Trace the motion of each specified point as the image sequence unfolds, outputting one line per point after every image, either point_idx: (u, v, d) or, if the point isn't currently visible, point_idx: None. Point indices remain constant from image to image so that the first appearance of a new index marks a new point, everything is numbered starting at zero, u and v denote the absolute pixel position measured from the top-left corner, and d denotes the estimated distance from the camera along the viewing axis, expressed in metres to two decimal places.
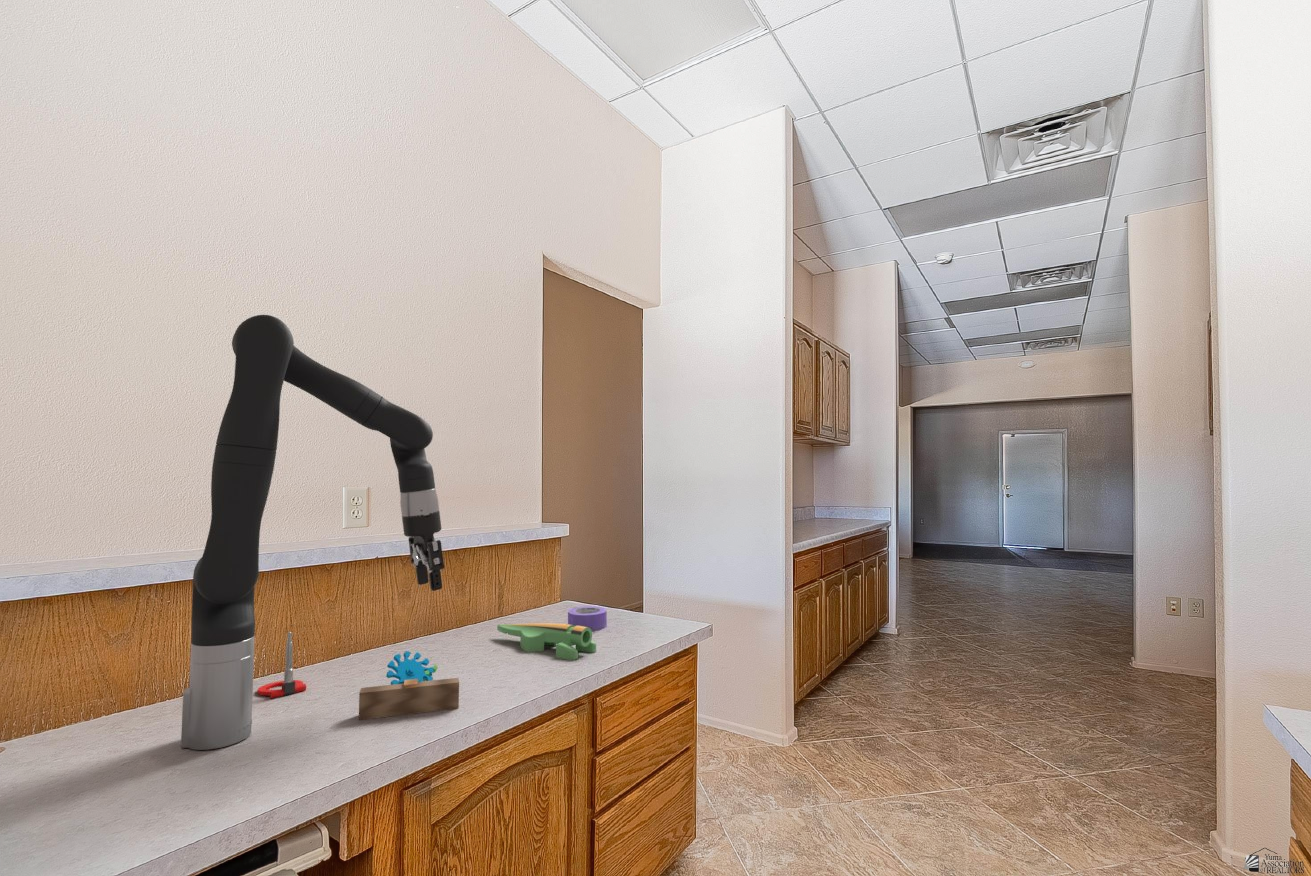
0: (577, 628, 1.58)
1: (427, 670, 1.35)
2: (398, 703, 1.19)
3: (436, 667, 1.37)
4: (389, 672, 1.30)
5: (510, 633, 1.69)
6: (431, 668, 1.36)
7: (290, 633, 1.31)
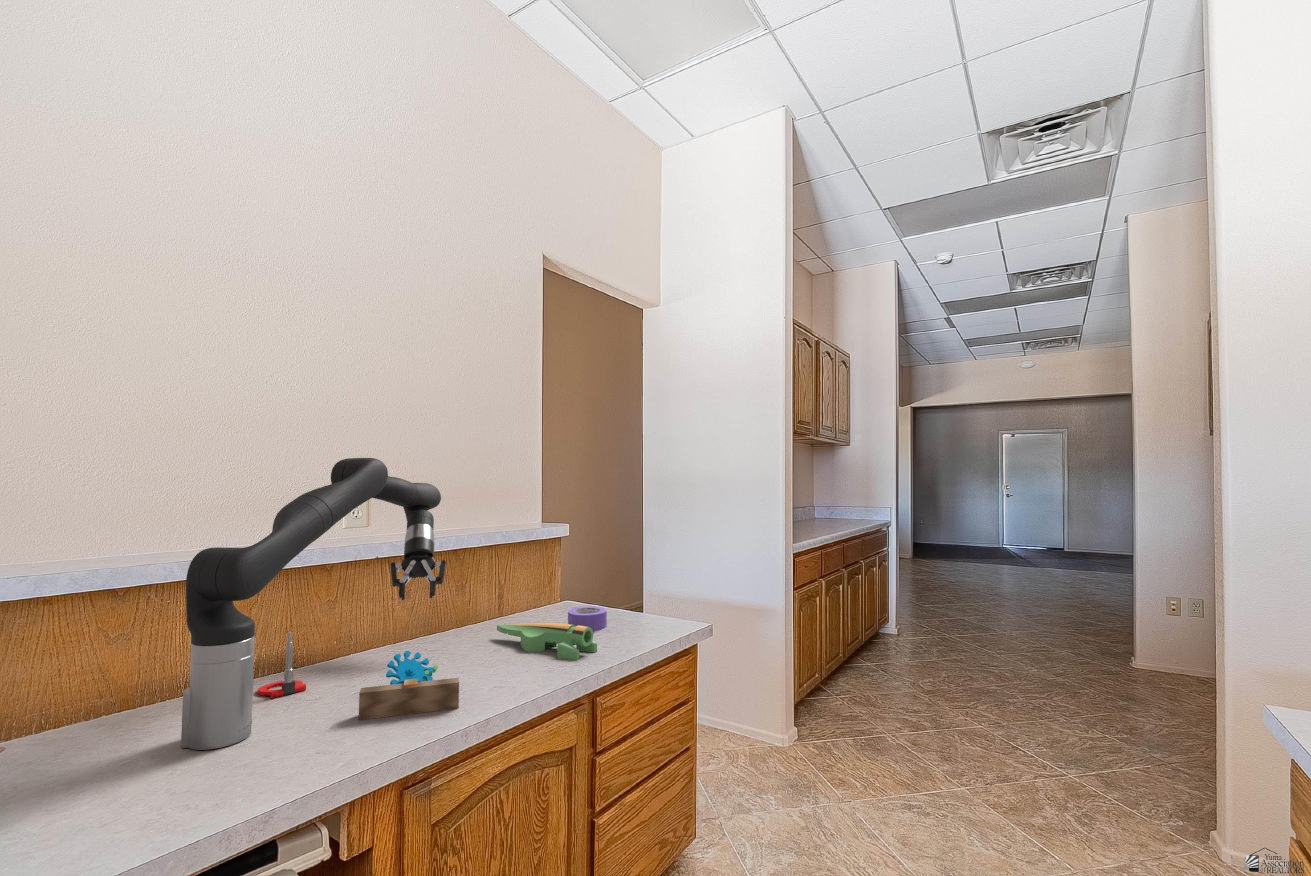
0: (578, 628, 1.58)
1: (427, 670, 1.35)
2: (398, 703, 1.19)
3: (436, 667, 1.37)
4: (389, 672, 1.30)
5: (510, 633, 1.69)
6: (431, 668, 1.36)
7: (290, 633, 1.31)
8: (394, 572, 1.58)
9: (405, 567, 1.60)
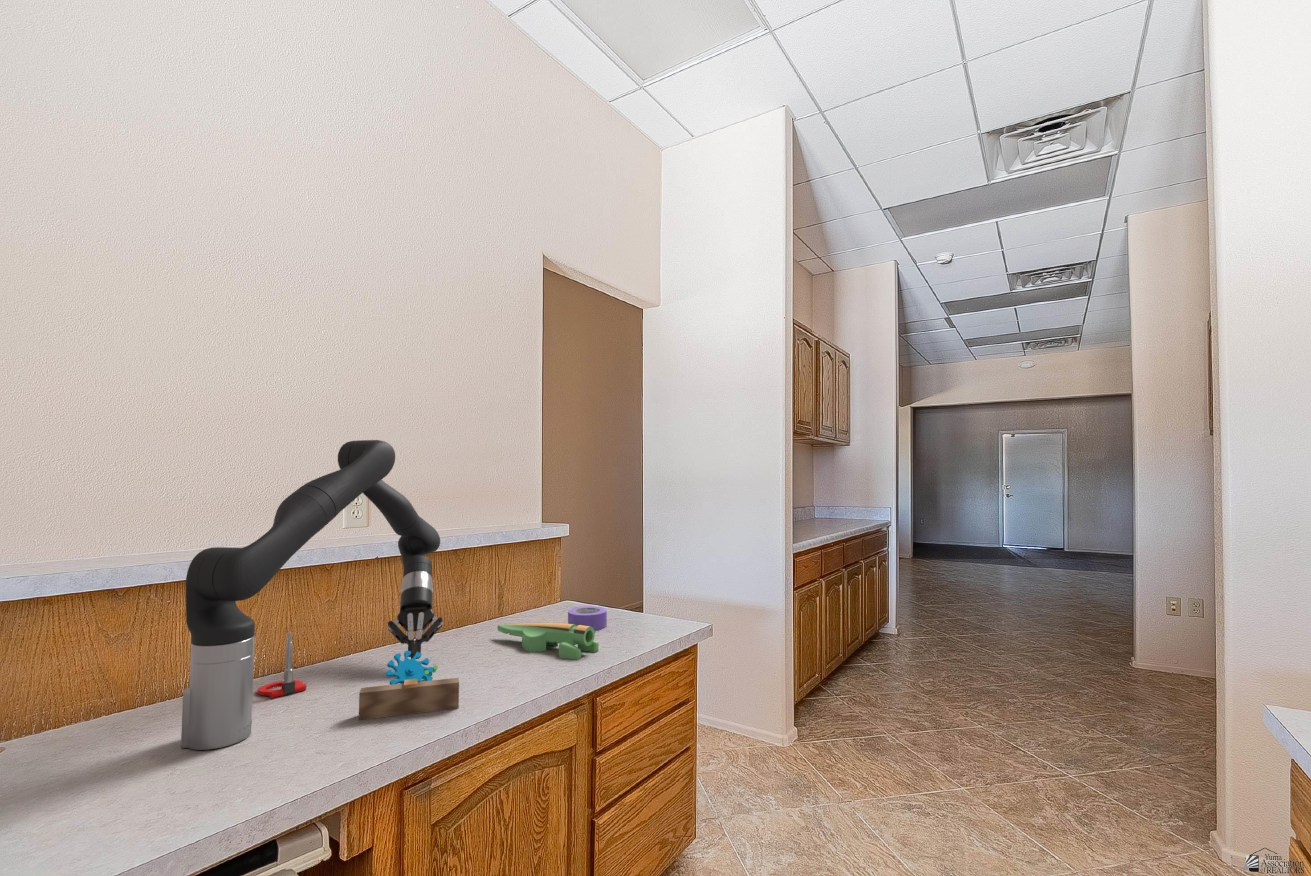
0: (580, 627, 1.59)
1: (427, 670, 1.35)
2: (398, 703, 1.19)
3: (436, 667, 1.37)
4: (388, 671, 1.30)
5: (511, 633, 1.69)
6: (431, 668, 1.36)
7: (290, 633, 1.31)
8: (398, 629, 1.46)
9: (405, 620, 1.49)
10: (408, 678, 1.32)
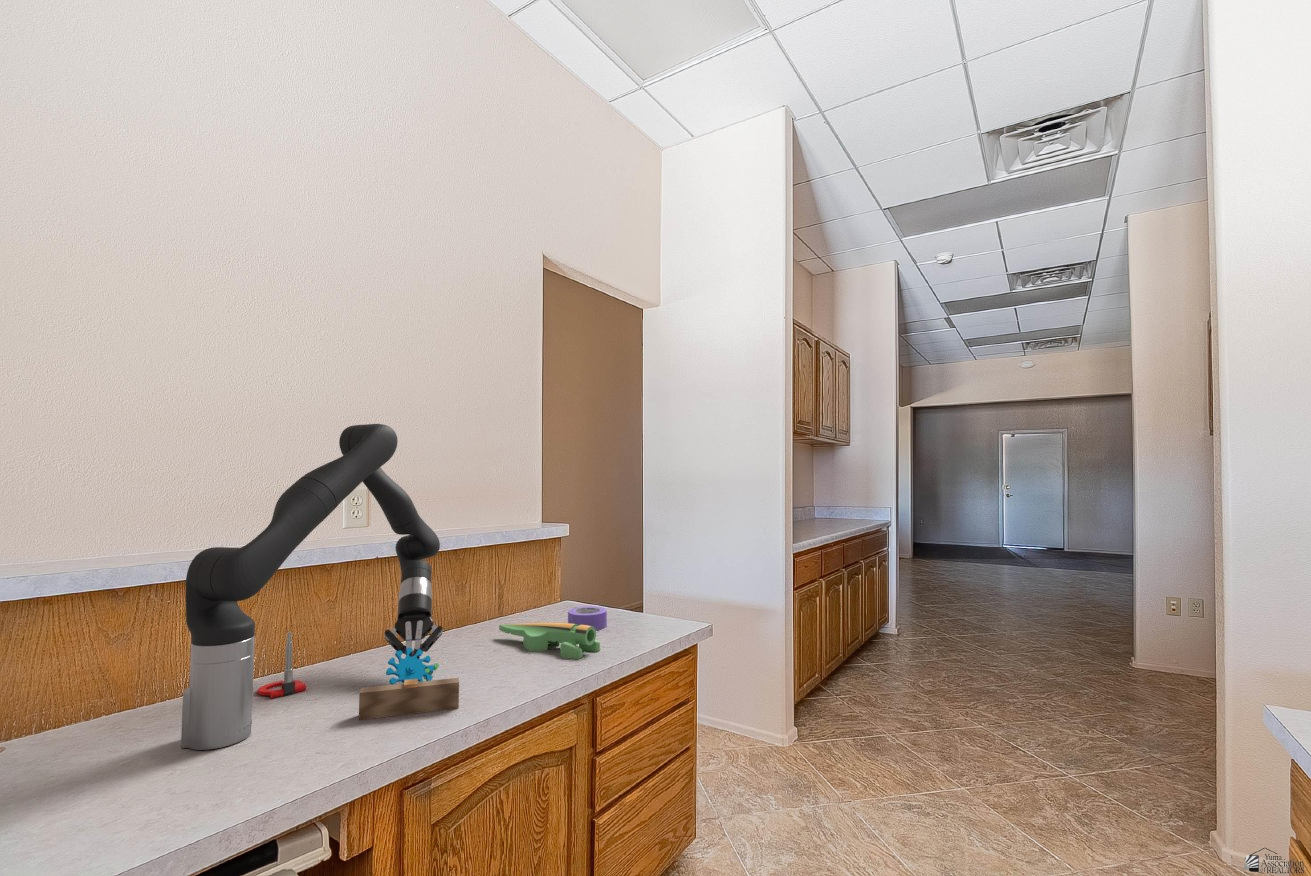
0: (581, 627, 1.59)
1: (427, 668, 1.35)
2: (398, 703, 1.19)
3: (437, 665, 1.37)
4: (388, 669, 1.30)
5: (513, 633, 1.69)
6: (432, 666, 1.36)
7: (290, 633, 1.31)
8: (395, 639, 1.39)
9: (403, 629, 1.41)
10: (408, 677, 1.32)
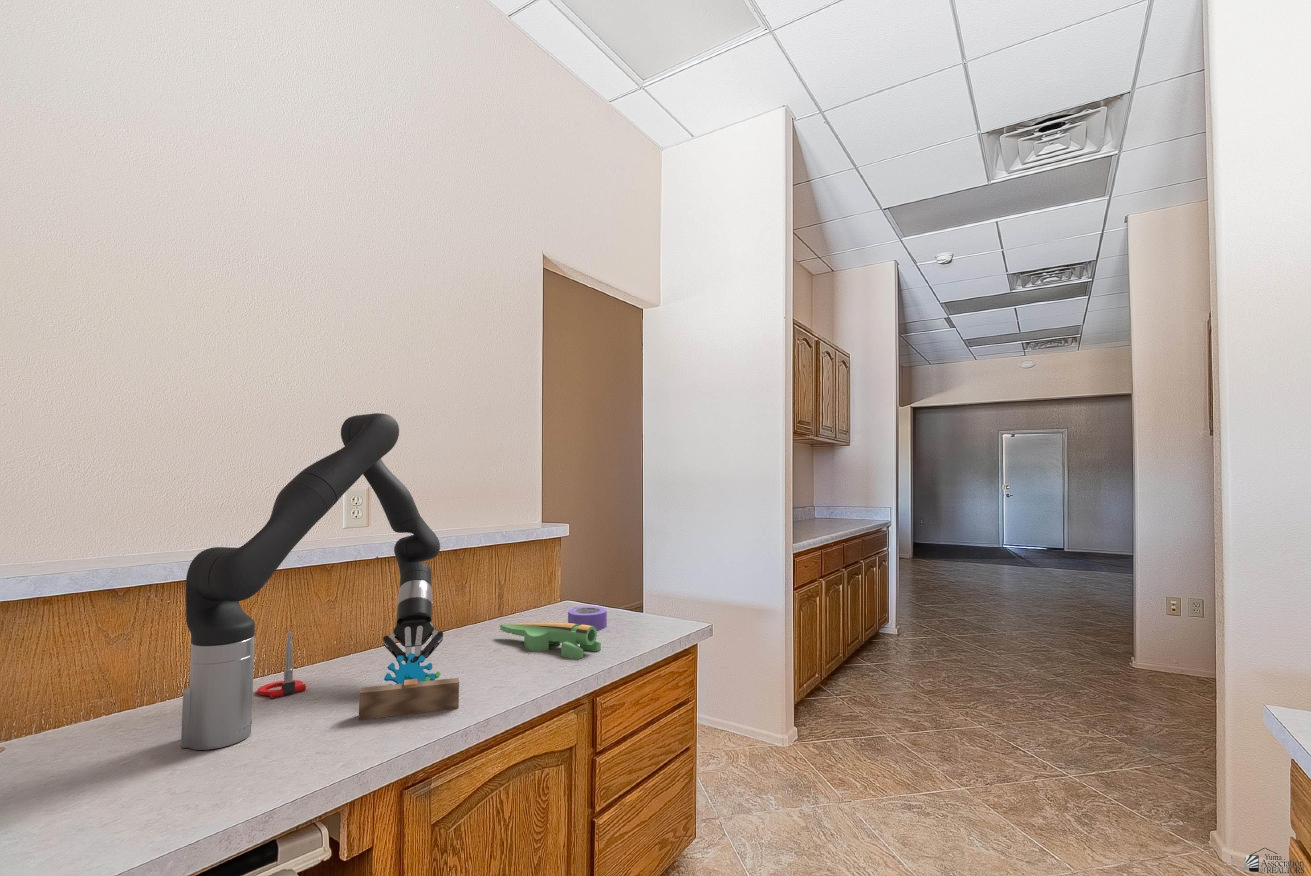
0: (582, 627, 1.59)
1: (428, 676, 1.30)
2: (398, 703, 1.19)
3: (439, 674, 1.31)
4: (387, 675, 1.26)
5: (514, 633, 1.70)
6: (433, 674, 1.30)
7: (290, 633, 1.31)
8: (394, 645, 1.33)
9: (402, 634, 1.35)
10: None
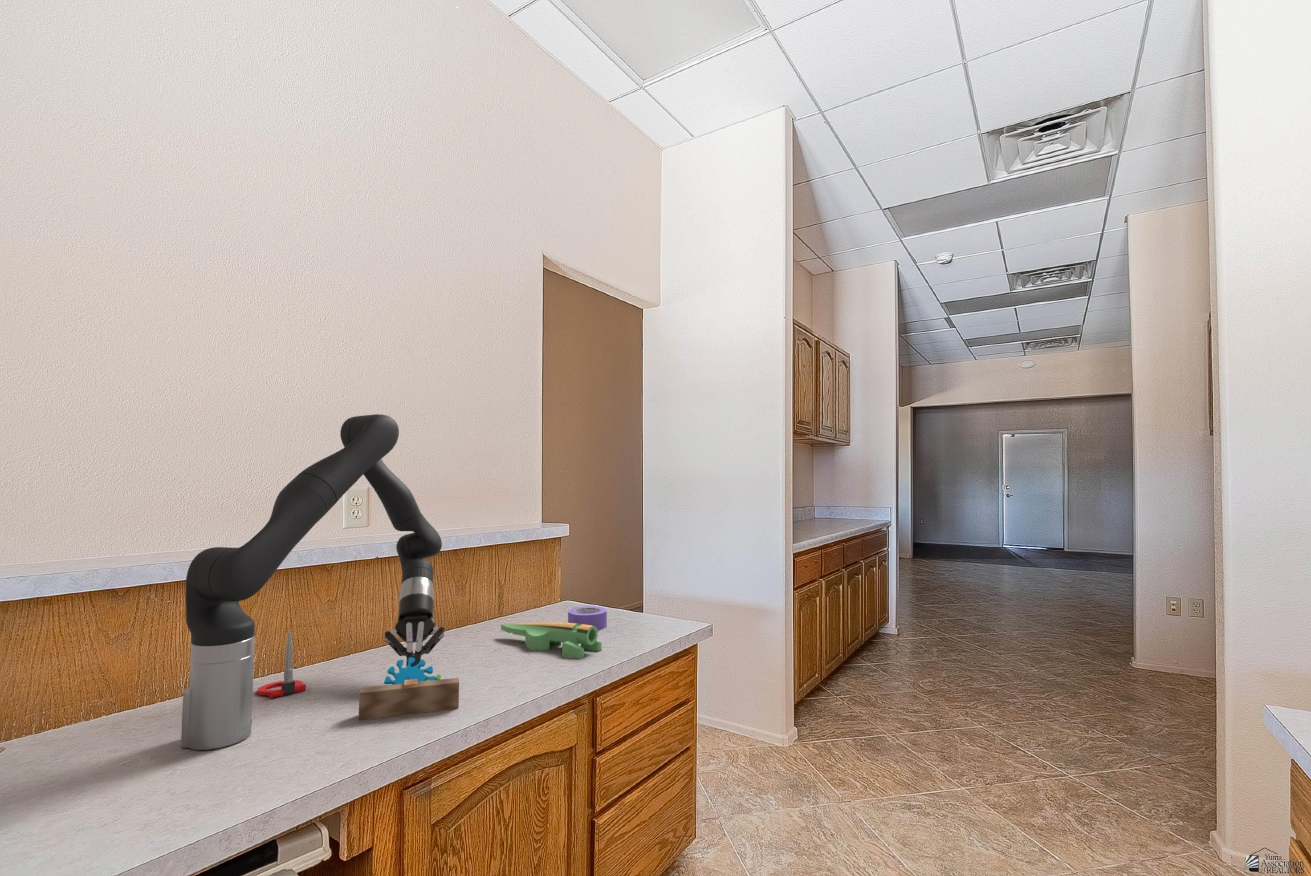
0: (583, 627, 1.60)
1: (428, 679, 1.29)
2: (398, 703, 1.19)
3: (439, 676, 1.31)
4: (386, 678, 1.26)
5: (514, 632, 1.70)
6: (433, 677, 1.30)
7: (290, 633, 1.31)
8: (396, 641, 1.34)
9: (403, 630, 1.37)
10: None
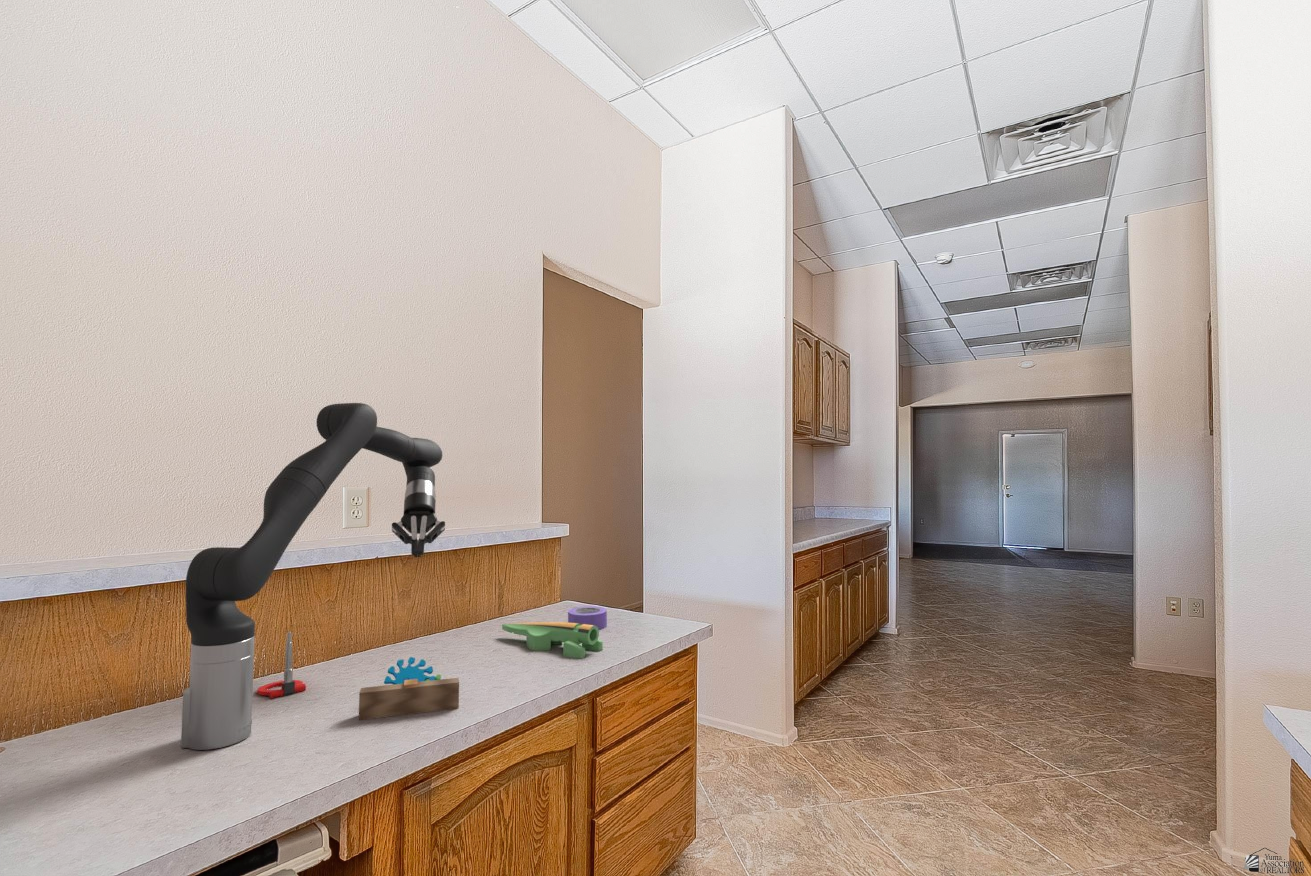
0: (584, 626, 1.60)
1: (428, 679, 1.29)
2: (398, 703, 1.19)
3: (439, 676, 1.31)
4: (386, 678, 1.26)
5: (516, 632, 1.70)
6: (433, 677, 1.30)
7: (290, 633, 1.31)
8: (402, 530, 1.50)
9: (408, 522, 1.52)
10: None
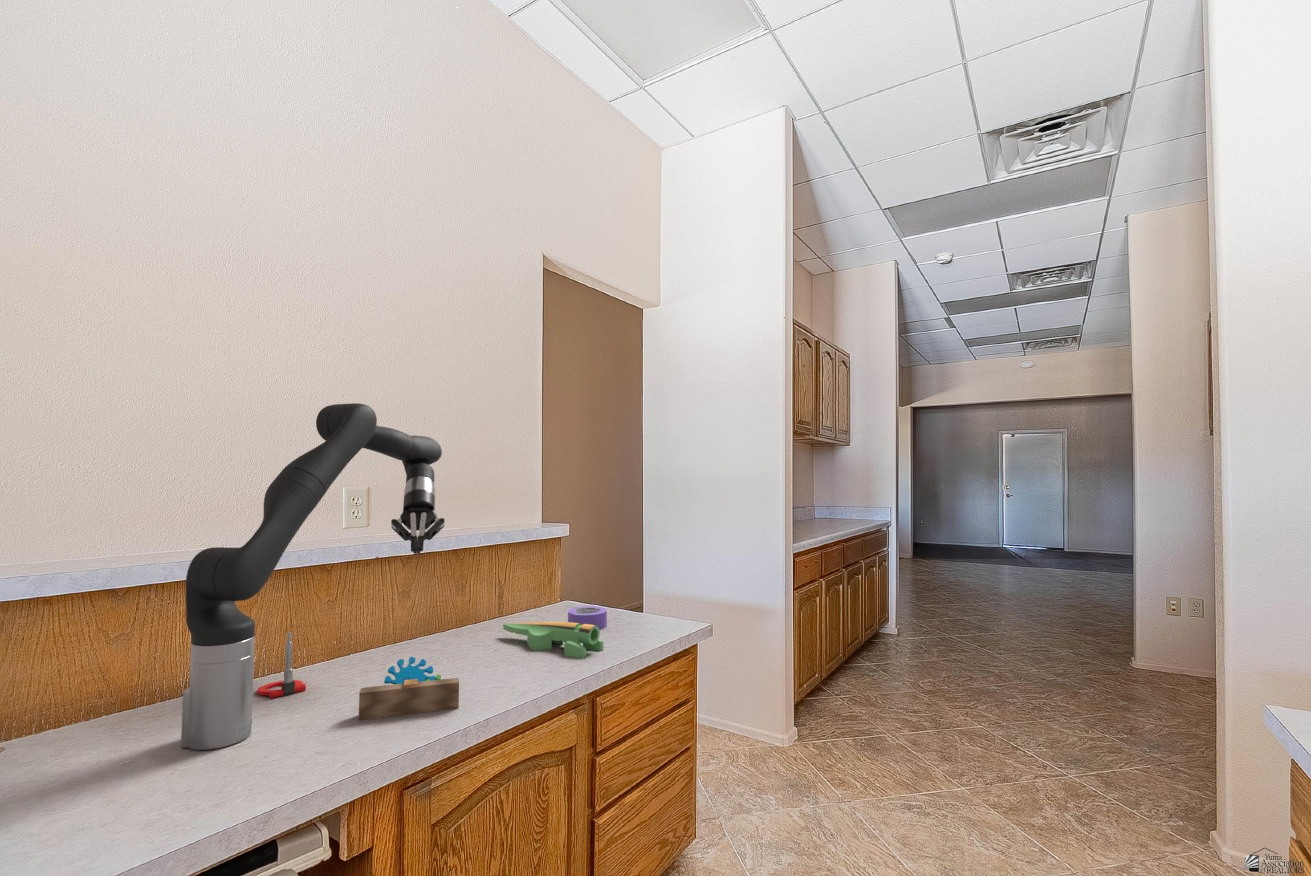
0: (585, 626, 1.60)
1: (428, 679, 1.29)
2: (398, 703, 1.19)
3: (439, 676, 1.31)
4: (386, 678, 1.26)
5: (517, 632, 1.70)
6: (433, 677, 1.30)
7: (290, 633, 1.31)
8: (401, 527, 1.50)
9: (408, 519, 1.53)
10: None
